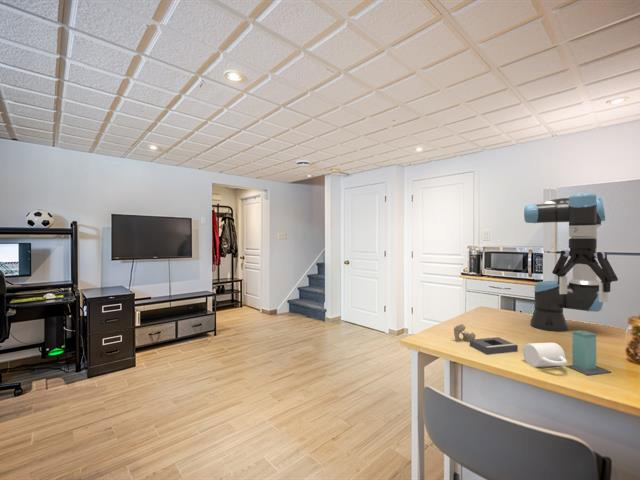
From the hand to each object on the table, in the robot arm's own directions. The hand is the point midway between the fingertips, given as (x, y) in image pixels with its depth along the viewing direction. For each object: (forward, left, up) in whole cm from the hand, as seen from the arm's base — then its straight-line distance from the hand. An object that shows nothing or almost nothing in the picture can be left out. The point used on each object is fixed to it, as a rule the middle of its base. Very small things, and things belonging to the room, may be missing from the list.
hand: (582, 297), depth 109 cm
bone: (+23, -32, -25) cm, 47 cm away
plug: (0, +1, -24) cm, 24 cm away
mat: (0, +1, -25) cm, 25 cm away
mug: (+12, -2, -25) cm, 28 cm away
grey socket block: (+18, -21, -25) cm, 37 cm away
